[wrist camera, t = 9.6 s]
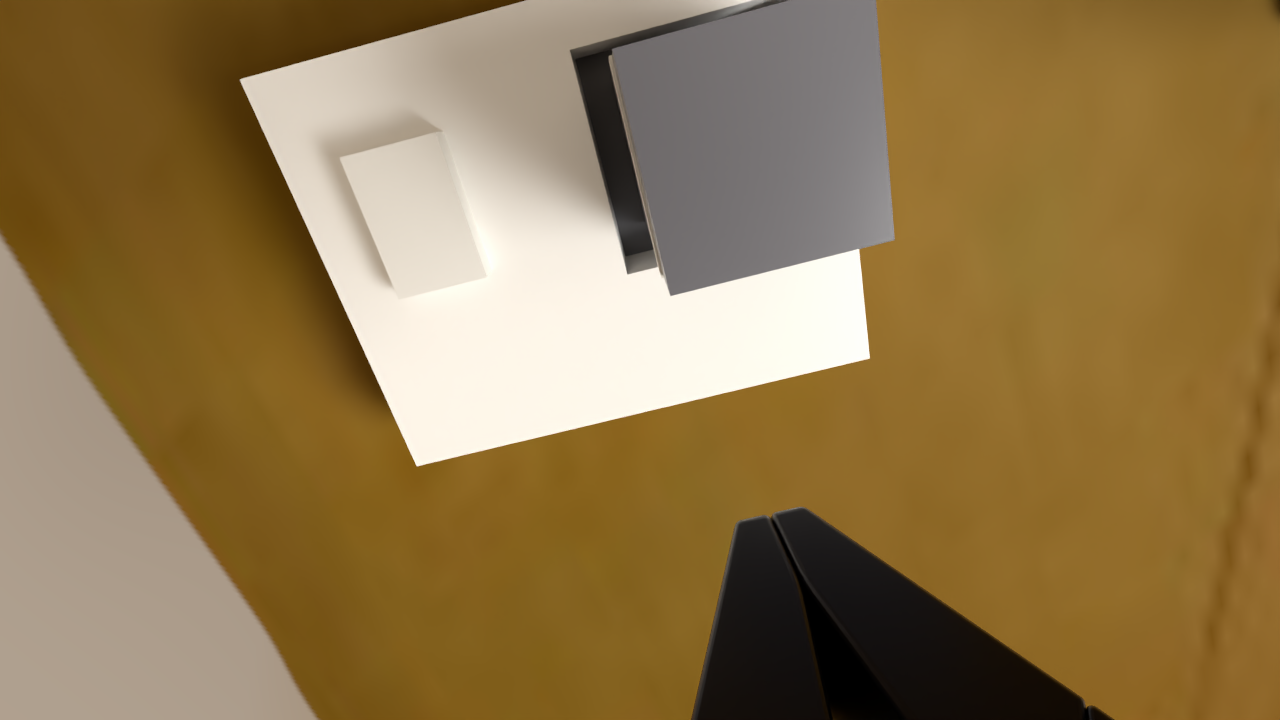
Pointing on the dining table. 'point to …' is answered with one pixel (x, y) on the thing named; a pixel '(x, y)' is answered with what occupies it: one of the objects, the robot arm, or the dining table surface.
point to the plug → (758, 139)
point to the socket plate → (523, 231)
